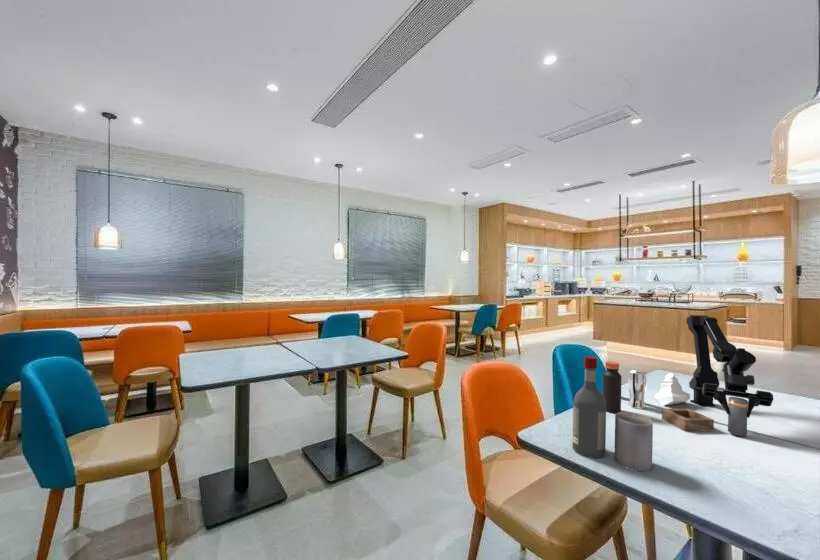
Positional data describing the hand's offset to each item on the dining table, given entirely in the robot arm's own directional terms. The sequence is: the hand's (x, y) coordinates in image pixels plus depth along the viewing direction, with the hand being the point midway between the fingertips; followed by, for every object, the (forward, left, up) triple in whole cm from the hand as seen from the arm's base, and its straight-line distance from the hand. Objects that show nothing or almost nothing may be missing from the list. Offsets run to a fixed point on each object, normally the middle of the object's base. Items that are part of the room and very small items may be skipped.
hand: (738, 415), depth 126 cm
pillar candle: (+16, -50, -8) cm, 53 cm away
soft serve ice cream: (-32, +2, -8) cm, 33 cm away
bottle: (-25, -30, -8) cm, 40 cm away
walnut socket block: (-10, -10, -7) cm, 16 cm away
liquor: (+8, -59, -8) cm, 60 cm away
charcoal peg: (-1, +1, -7) cm, 7 cm away
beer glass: (-29, -16, -8) cm, 34 cm away
